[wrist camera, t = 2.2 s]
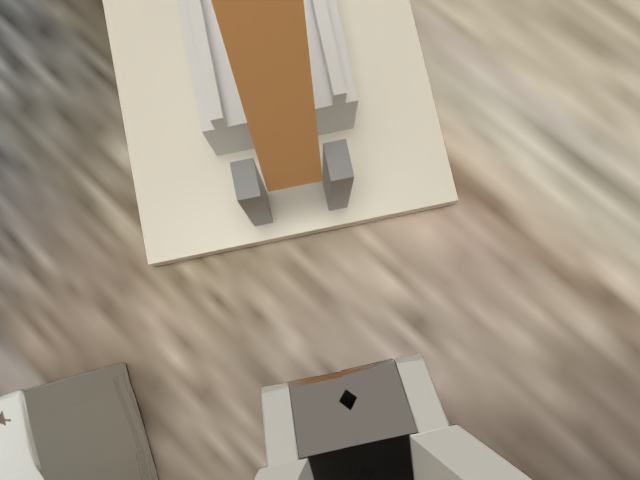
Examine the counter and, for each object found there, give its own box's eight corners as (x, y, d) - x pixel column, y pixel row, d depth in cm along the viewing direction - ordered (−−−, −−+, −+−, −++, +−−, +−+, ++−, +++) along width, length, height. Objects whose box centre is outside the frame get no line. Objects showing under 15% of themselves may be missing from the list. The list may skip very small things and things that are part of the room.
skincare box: (40, 388, 39) (-132, 428, 24) (132, 358, 39) (17, 380, 24) (74, 520, 38) (-85, 647, 23) (168, 489, 38) (71, 594, 23)
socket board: (380, -94, 43) (399, -232, 32) (453, 204, 40) (500, 161, 30) (101, -40, 43) (27, -162, 32) (154, 266, 40) (93, 245, 29)
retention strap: (320, 170, 33) (322, 180, 33) (265, 182, 33) (267, 192, 32) (285, -145, 17) (289, -130, 16) (176, -124, 16) (179, -109, 16)
